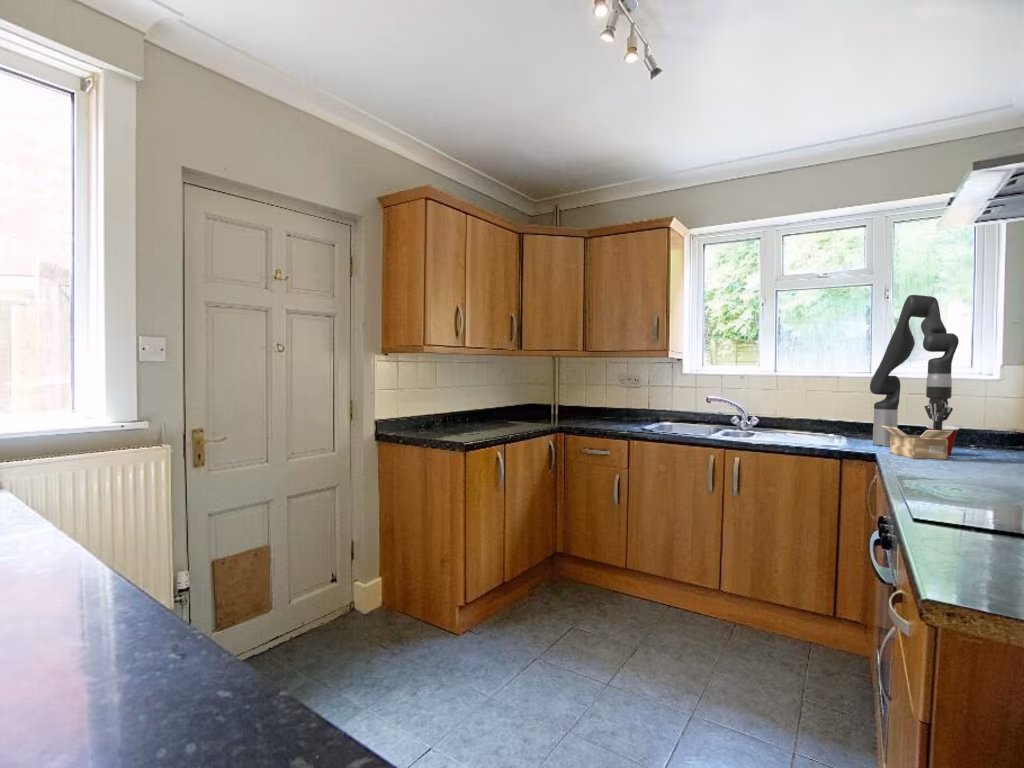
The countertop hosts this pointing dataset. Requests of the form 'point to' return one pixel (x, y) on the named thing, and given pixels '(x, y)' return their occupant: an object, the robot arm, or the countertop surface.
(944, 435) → the short flap
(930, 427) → the plastic cup
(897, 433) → the long flap
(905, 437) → the carton
